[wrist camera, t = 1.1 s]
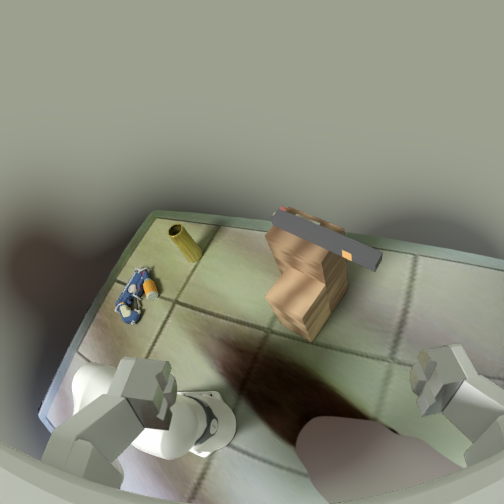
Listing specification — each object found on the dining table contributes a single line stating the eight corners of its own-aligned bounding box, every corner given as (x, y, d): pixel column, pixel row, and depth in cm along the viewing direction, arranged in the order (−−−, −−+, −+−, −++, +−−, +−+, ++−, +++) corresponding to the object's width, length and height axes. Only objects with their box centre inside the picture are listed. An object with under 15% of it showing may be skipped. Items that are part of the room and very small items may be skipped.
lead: (381, 259, 53) (382, 252, 51) (374, 272, 52) (375, 265, 50) (281, 215, 66) (278, 208, 64) (273, 225, 65) (270, 218, 64)
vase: (190, 265, 101) (169, 241, 90) (184, 254, 105) (164, 229, 94) (205, 255, 101) (186, 229, 90) (198, 244, 105) (180, 218, 94)
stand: (348, 287, 80) (344, 227, 59) (311, 342, 74) (294, 299, 54) (306, 267, 88) (288, 205, 67) (269, 316, 82) (237, 267, 62)
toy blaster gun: (170, 278, 101) (143, 268, 108) (163, 272, 97) (136, 262, 105) (140, 332, 92) (115, 316, 100) (132, 327, 89) (107, 311, 96)
